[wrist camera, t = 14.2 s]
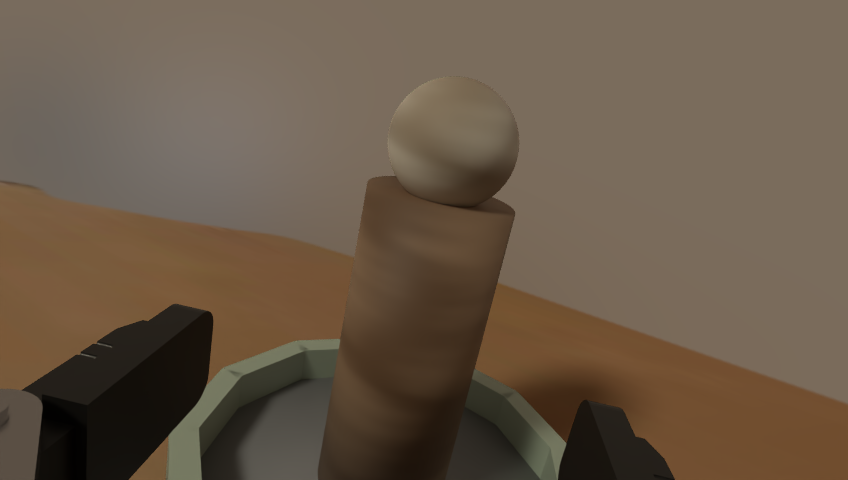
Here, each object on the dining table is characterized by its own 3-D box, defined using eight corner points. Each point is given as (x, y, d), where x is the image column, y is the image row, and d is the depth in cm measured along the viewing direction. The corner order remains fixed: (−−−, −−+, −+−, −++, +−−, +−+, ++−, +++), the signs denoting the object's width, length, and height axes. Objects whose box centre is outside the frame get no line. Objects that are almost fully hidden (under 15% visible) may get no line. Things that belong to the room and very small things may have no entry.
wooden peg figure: (445, 447, 24) (536, 94, 19) (438, 541, 19) (559, 94, 14) (336, 421, 24) (400, 65, 19) (299, 508, 19) (374, 55, 14)
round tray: (540, 416, 29) (552, 378, 28) (614, 776, 14) (644, 712, 13) (266, 353, 30) (271, 314, 29) (44, 631, 14) (43, 563, 14)
